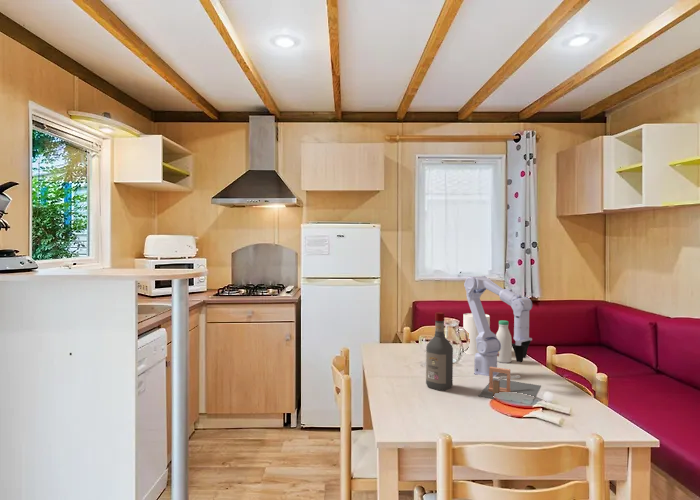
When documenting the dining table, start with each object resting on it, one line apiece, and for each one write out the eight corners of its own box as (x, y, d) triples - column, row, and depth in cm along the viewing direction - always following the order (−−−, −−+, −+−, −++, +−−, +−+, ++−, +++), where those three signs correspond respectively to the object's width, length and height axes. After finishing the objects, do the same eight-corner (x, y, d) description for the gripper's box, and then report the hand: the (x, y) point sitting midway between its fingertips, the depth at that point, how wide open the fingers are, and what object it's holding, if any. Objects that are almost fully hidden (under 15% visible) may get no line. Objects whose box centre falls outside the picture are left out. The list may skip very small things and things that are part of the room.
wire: (492, 396, 166) (493, 381, 166) (501, 384, 179) (501, 371, 179) (512, 399, 162) (513, 384, 162) (520, 387, 175) (520, 373, 175)
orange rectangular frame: (508, 394, 167) (509, 371, 167) (488, 391, 171) (488, 368, 171) (510, 391, 171) (511, 368, 170) (490, 388, 175) (491, 365, 174)
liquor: (443, 392, 171) (443, 315, 171) (423, 386, 177) (423, 312, 177) (454, 386, 178) (455, 312, 177) (435, 381, 184) (435, 310, 184)
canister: (458, 352, 234) (458, 315, 234) (471, 348, 243) (472, 312, 243) (480, 357, 224) (481, 318, 224) (494, 352, 233) (494, 315, 233)
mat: (478, 396, 166) (478, 395, 166) (493, 378, 188) (493, 378, 188) (531, 406, 157) (531, 404, 157) (541, 386, 178) (541, 385, 178)
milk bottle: (513, 360, 218) (513, 320, 218) (509, 364, 211) (510, 322, 211) (497, 358, 222) (497, 319, 222) (493, 361, 215) (493, 321, 215)
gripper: (529, 330, 172) (528, 365, 172) (534, 324, 184) (534, 357, 184) (510, 328, 175) (509, 362, 175) (517, 323, 188) (516, 354, 188)
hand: (521, 359), depth 180 cm, fingers open, 7 cm apart
